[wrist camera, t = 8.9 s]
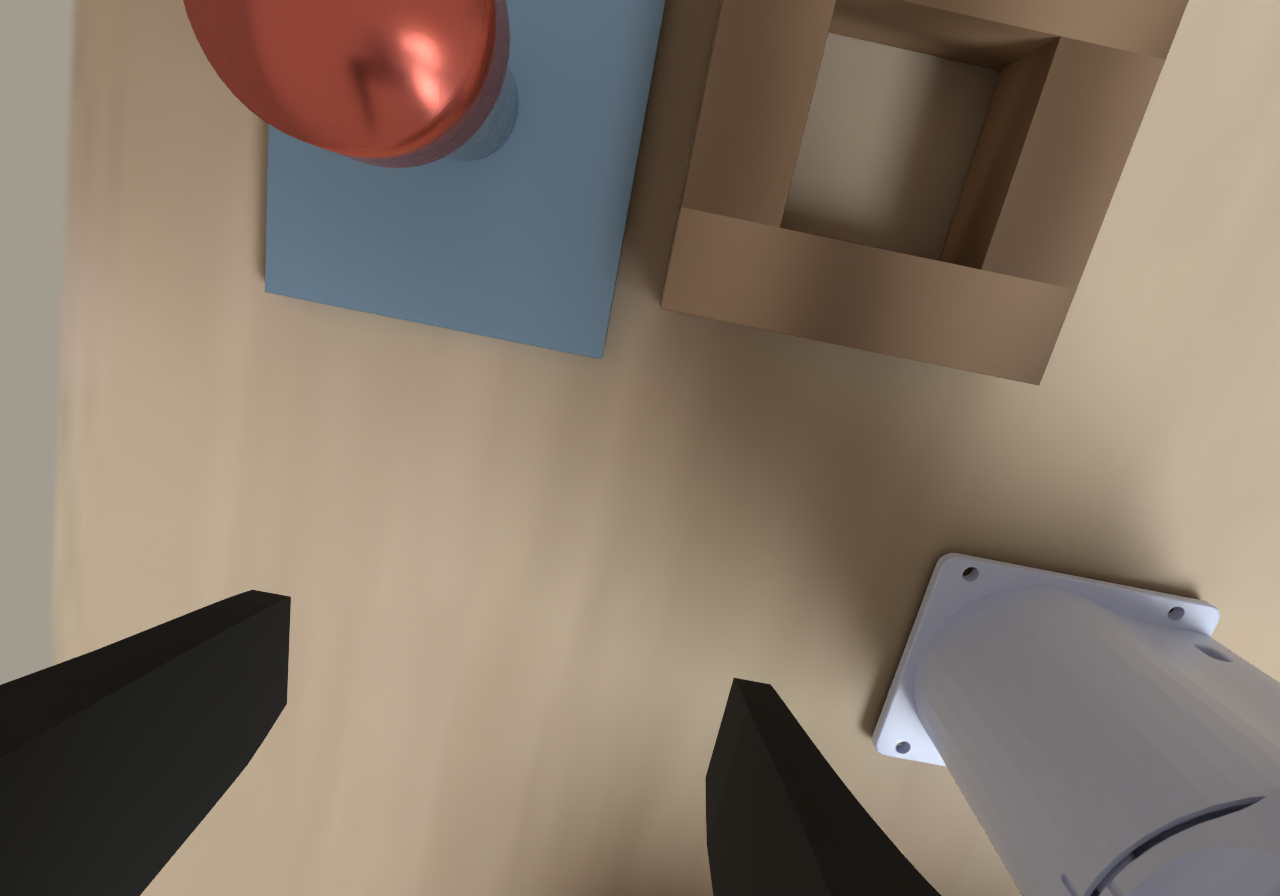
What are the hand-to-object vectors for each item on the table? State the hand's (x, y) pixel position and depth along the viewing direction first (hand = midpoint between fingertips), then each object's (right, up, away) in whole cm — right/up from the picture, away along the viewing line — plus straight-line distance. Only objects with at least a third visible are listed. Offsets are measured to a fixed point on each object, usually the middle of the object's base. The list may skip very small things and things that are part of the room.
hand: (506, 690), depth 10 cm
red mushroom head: (-3, +13, +6) cm, 15 cm away
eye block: (+9, +12, +7) cm, 16 cm away
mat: (-3, +13, +7) cm, 15 cm away
